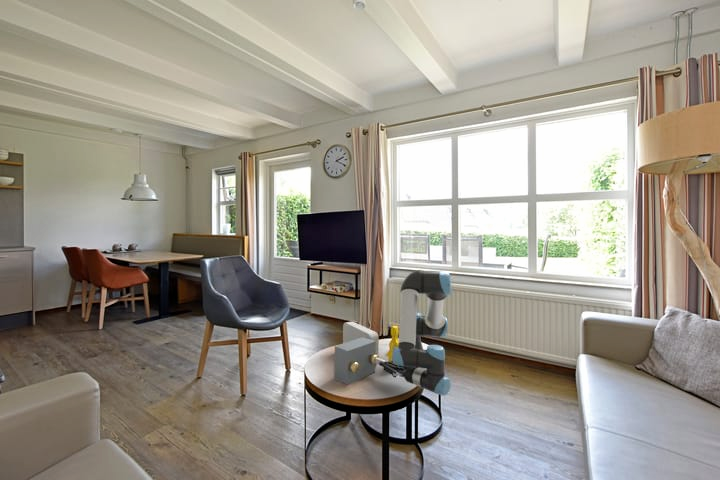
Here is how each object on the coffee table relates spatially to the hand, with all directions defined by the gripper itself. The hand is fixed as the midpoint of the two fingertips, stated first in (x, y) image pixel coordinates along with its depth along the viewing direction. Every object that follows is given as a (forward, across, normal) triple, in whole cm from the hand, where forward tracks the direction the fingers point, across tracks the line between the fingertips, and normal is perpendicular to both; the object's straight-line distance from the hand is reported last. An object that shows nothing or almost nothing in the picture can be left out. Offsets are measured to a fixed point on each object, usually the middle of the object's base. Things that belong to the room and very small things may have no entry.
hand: (376, 360), depth 161 cm
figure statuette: (0, +17, -8) cm, 19 cm away
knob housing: (+8, -7, -8) cm, 13 cm away
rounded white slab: (+21, +10, -8) cm, 25 cm away
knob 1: (+5, -14, -2) cm, 15 cm away
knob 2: (+5, 0, -2) cm, 5 cm away
